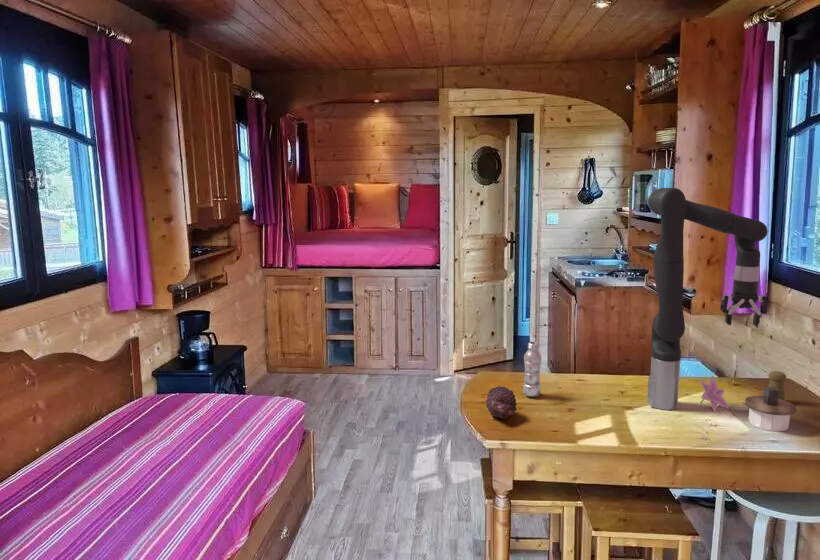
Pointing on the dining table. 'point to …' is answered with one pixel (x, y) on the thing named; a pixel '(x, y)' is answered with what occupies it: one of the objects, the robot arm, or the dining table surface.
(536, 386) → the plastic bottle
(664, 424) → the dining table surface
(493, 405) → the pine cone
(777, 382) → the cork
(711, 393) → the lily
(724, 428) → the dining table surface
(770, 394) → the walnut lid
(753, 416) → the ceramic bowl
